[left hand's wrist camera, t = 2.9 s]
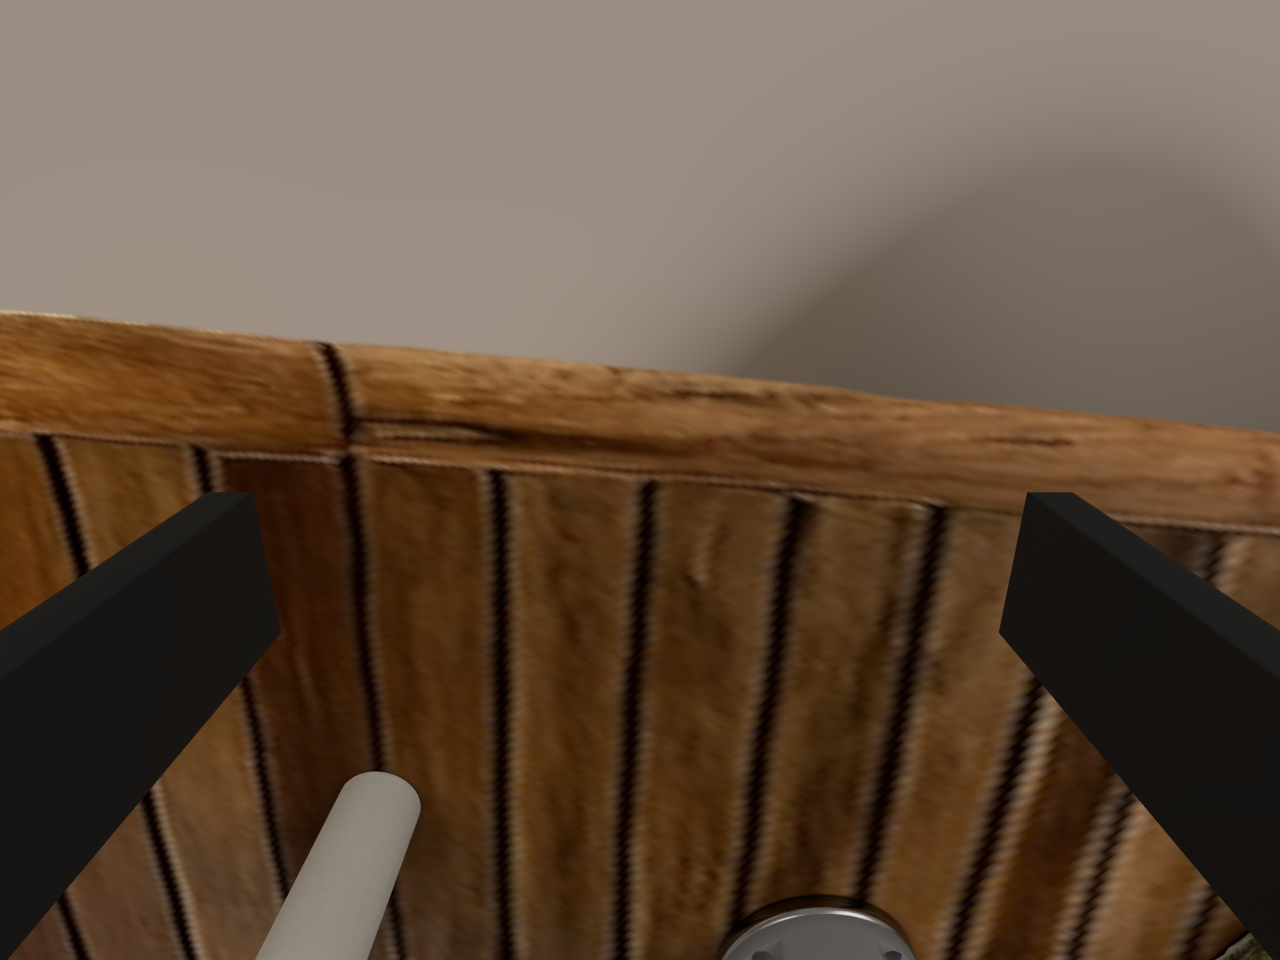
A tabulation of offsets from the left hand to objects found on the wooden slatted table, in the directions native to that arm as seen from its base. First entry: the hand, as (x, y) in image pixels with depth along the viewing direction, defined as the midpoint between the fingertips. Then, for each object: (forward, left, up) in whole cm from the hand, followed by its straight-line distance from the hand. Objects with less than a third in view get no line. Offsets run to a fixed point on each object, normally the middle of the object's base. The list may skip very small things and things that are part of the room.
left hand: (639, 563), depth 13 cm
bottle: (-33, +18, -28) cm, 47 cm away
